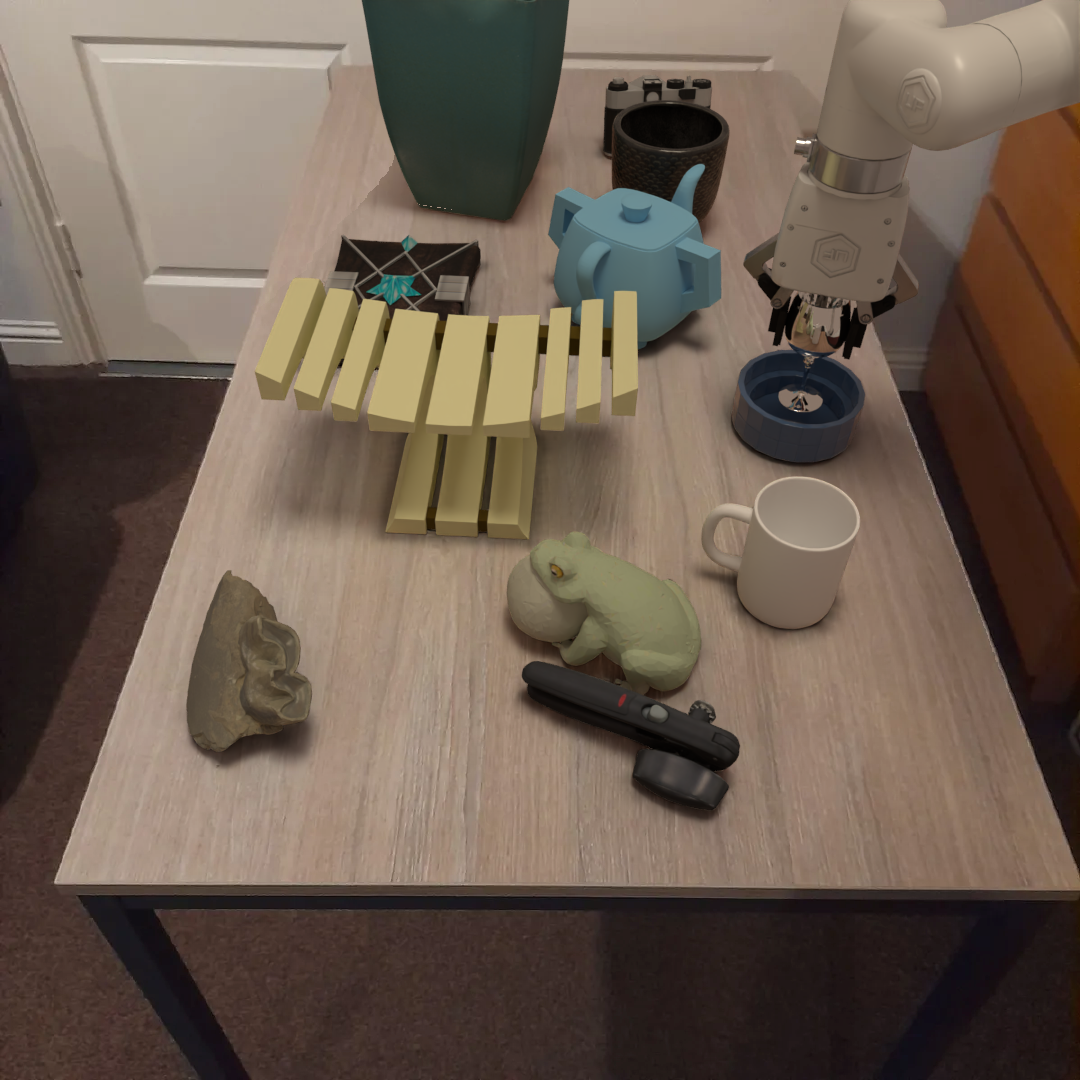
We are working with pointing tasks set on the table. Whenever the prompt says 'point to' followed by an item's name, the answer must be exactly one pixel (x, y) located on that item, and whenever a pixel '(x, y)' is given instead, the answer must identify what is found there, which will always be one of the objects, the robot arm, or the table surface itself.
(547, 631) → the figurine
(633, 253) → the teapot
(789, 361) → the bowl
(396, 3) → the flower pot
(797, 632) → the table surface
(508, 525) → the slatted curved stool
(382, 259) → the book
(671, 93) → the camera
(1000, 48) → the robot arm
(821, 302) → the wineglass
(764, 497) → the cup
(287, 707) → the fossil
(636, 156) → the planter
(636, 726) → the can opener
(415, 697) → the table surface
